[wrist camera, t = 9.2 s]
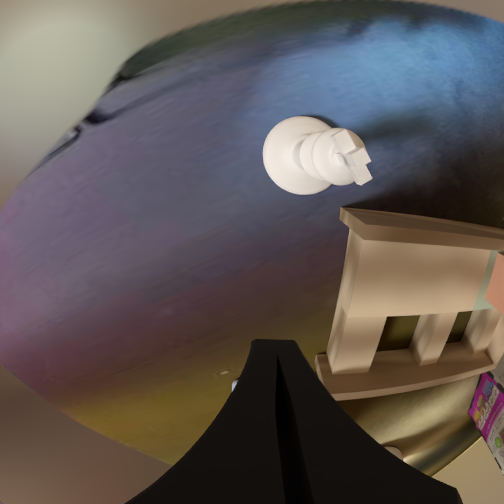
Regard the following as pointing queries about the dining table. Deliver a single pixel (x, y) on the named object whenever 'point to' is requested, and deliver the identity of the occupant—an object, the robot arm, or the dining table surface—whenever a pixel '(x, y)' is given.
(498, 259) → the terracotta block
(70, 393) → the dining table surface
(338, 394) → the tray
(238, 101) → the dining table surface
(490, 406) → the candy bar box
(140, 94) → the dining table surface
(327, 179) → the chess piece
